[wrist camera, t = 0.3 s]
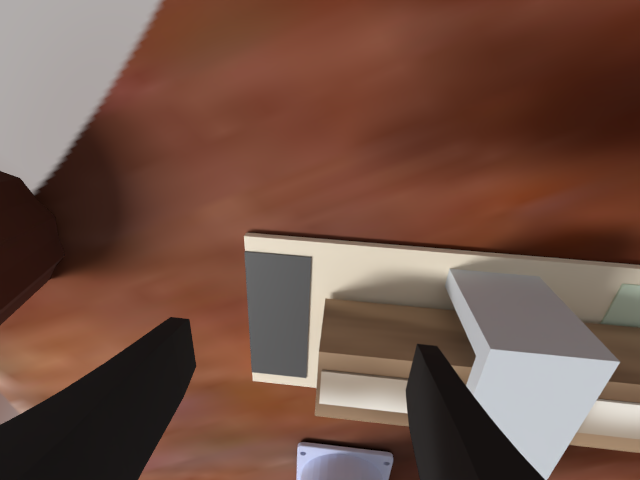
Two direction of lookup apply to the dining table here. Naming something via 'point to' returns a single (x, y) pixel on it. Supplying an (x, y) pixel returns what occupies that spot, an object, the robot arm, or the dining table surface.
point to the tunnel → (474, 313)
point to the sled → (449, 335)
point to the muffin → (24, 244)
